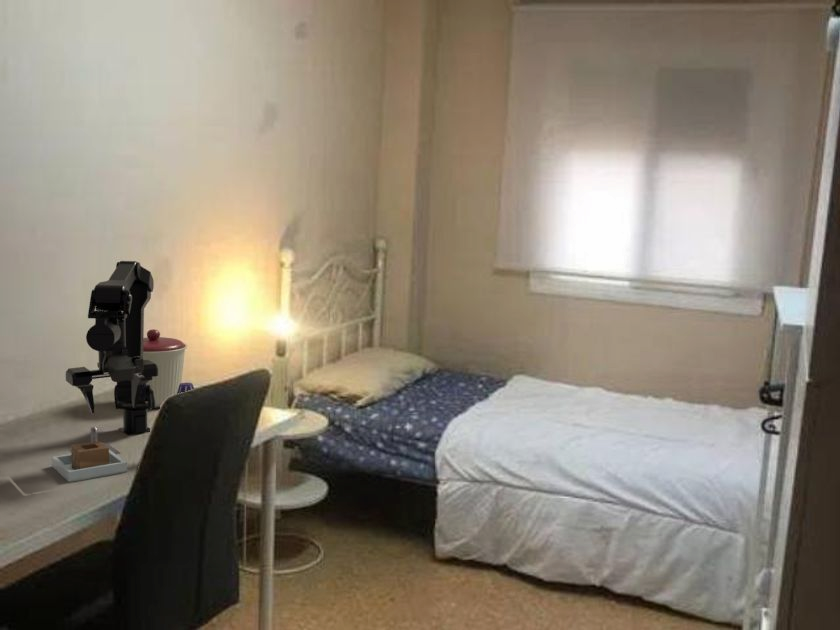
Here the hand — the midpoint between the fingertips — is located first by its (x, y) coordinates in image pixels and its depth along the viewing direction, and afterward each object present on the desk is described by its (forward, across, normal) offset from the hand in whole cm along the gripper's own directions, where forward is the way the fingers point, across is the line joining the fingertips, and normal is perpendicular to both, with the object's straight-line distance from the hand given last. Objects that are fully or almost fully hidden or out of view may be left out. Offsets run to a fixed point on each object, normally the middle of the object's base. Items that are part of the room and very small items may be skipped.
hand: (113, 410), depth 197 cm
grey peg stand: (+12, -2, +7) cm, 14 cm away
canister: (+13, +26, +44) cm, 52 cm away
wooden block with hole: (+11, -7, -5) cm, 14 cm away
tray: (+11, -7, -5) cm, 14 cm away
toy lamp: (+12, +15, -5) cm, 19 cm away
